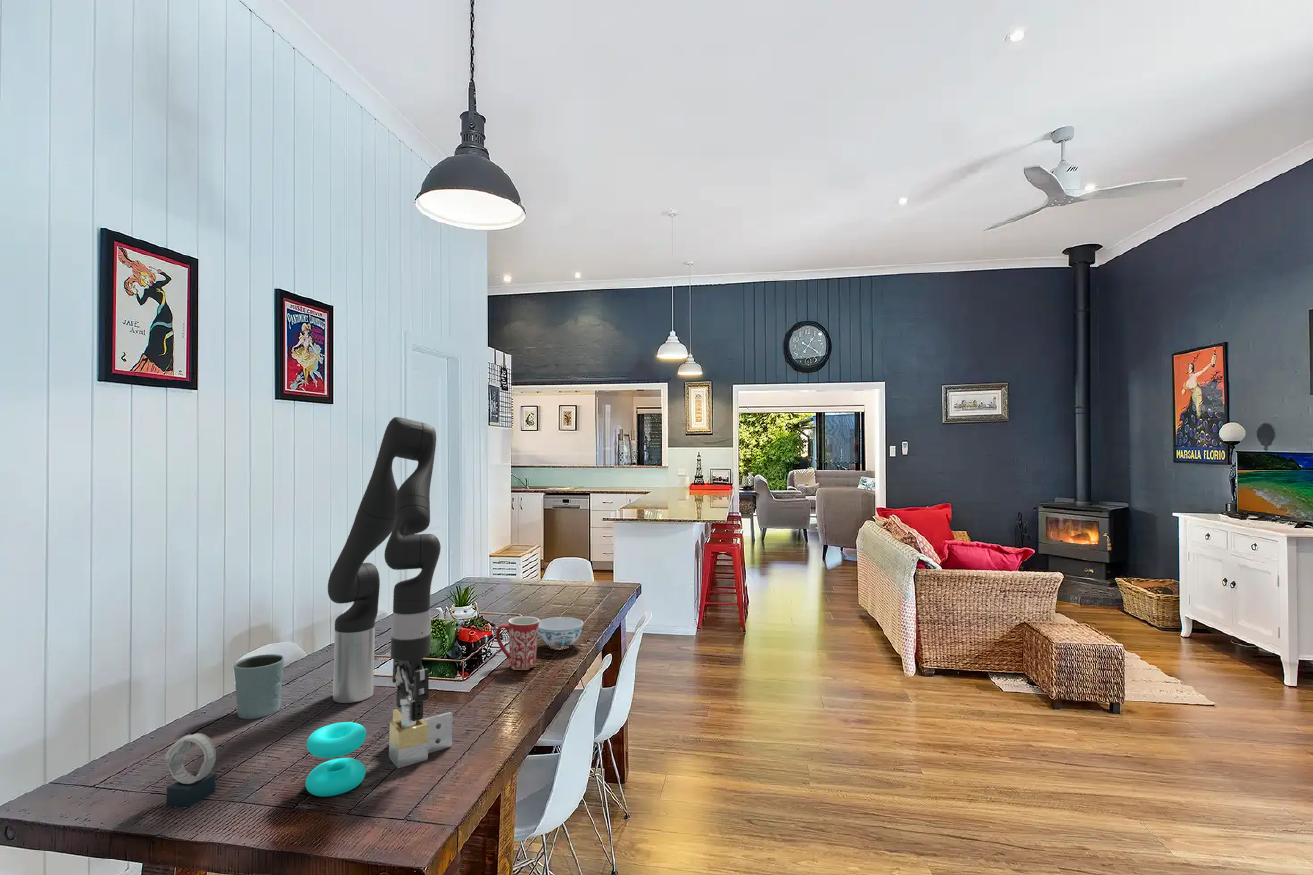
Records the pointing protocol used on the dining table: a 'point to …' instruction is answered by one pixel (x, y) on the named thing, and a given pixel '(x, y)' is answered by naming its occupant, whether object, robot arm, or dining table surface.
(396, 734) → the bracket
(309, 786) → the donuts
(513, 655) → the mug
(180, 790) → the watch
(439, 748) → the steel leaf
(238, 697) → the embossed green planter pot
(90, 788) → the dining table surface
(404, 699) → the hinge pin
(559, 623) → the chinaware
